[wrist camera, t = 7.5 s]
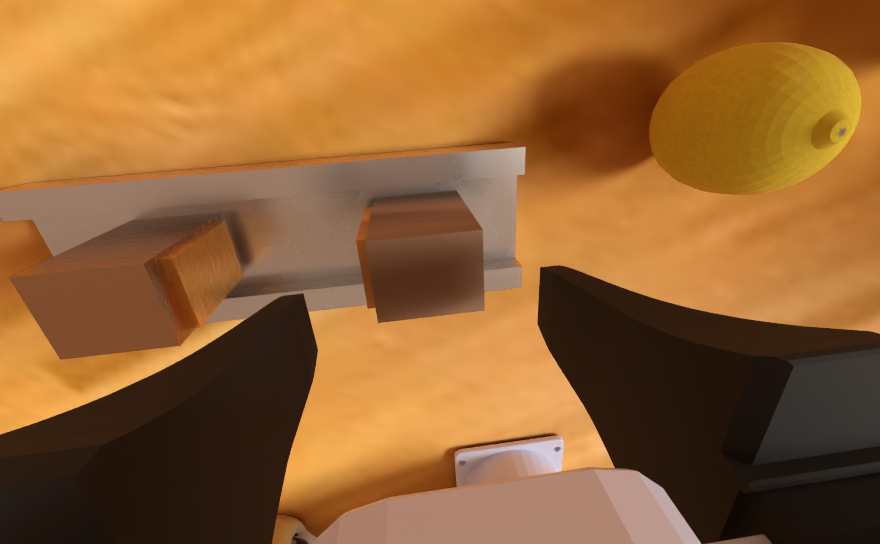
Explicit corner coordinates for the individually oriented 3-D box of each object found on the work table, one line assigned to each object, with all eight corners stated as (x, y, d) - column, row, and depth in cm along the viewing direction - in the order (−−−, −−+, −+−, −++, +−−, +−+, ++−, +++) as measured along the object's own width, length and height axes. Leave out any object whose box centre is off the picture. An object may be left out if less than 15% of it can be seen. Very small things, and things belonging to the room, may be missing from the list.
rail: (510, 271, 21) (557, 341, 15) (102, 316, 20) (-31, 415, 14) (512, 141, 18) (572, 164, 12) (30, 182, 17) (-182, 232, 11)
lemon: (593, 139, 19) (719, 166, 11) (671, 27, 17) (878, -25, 10) (667, 193, 20) (818, 246, 13) (745, 96, 19) (968, 96, 11)
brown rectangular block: (459, 251, 19) (484, 310, 14) (374, 260, 19) (367, 324, 14) (456, 190, 18) (482, 229, 13) (365, 199, 18) (352, 243, 12)
